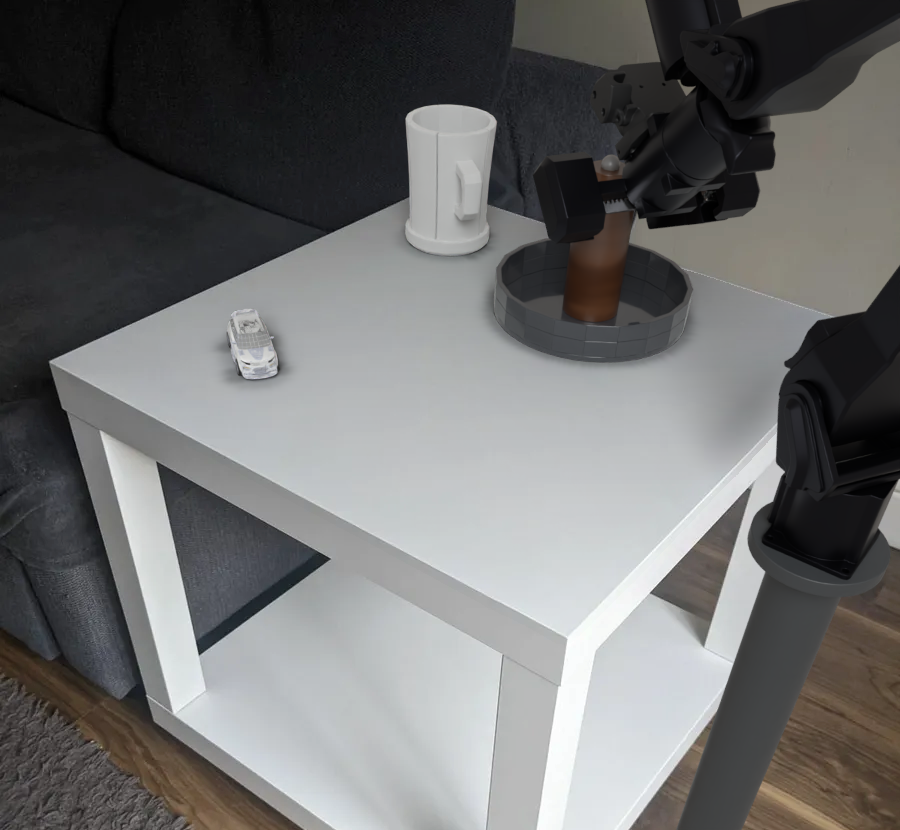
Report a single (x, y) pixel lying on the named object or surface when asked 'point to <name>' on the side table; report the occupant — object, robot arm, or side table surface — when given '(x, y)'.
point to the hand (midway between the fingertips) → (603, 230)
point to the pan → (554, 332)
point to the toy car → (251, 345)
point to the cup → (449, 178)
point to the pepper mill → (599, 260)
